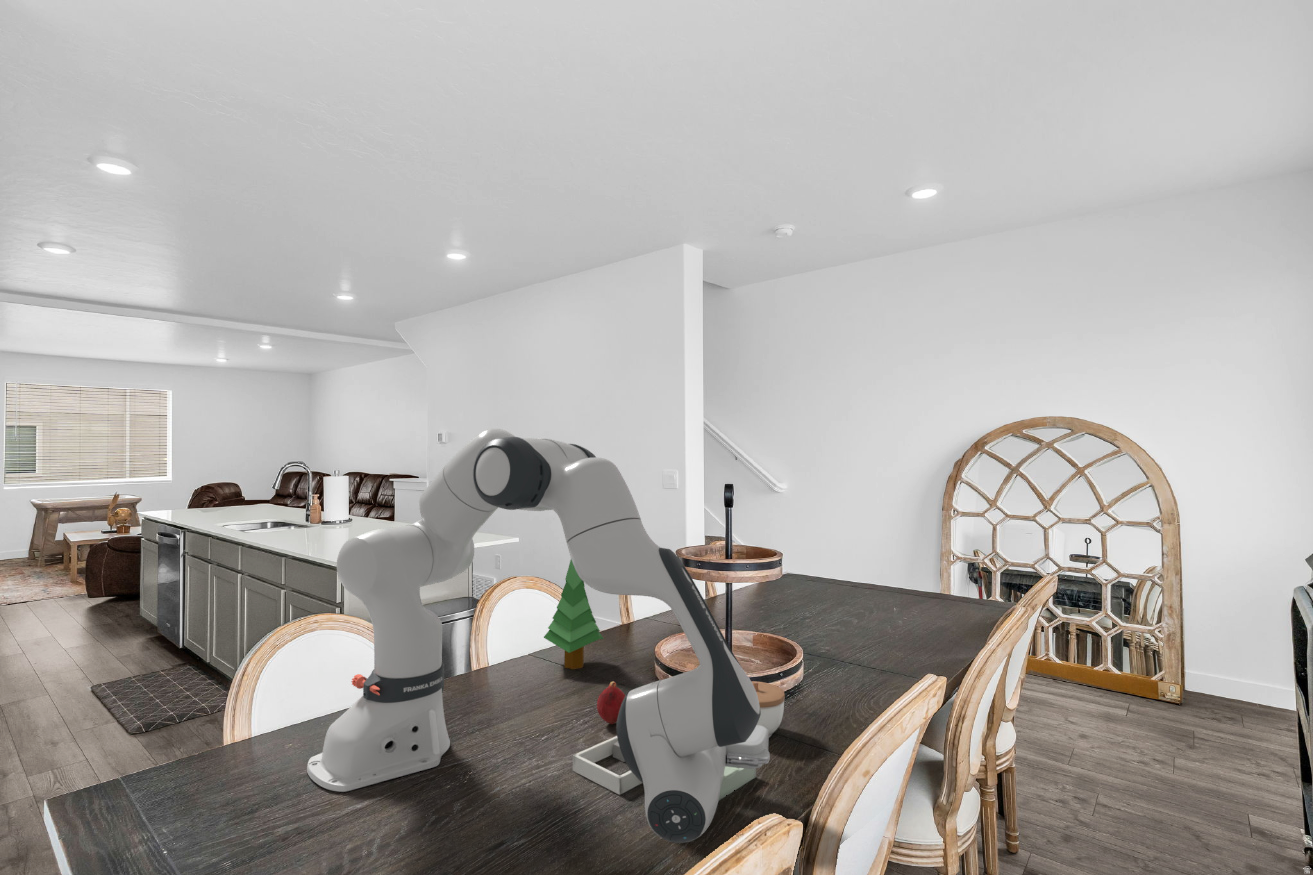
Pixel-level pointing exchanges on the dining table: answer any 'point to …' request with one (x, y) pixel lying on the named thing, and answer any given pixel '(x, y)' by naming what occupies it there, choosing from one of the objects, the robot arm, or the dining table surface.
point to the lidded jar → (770, 705)
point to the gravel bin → (600, 775)
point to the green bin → (735, 779)
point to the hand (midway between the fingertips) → (706, 718)
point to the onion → (610, 703)
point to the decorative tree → (573, 621)
